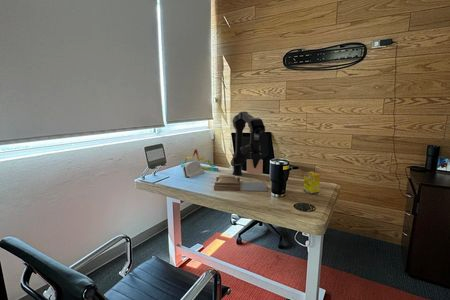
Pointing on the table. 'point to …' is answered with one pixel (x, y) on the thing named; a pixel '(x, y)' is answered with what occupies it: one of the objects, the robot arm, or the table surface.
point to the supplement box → (311, 182)
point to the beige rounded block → (192, 169)
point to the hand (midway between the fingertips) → (254, 167)
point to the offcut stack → (228, 179)
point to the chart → (203, 161)
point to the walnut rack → (227, 185)
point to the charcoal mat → (254, 186)
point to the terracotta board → (254, 170)
